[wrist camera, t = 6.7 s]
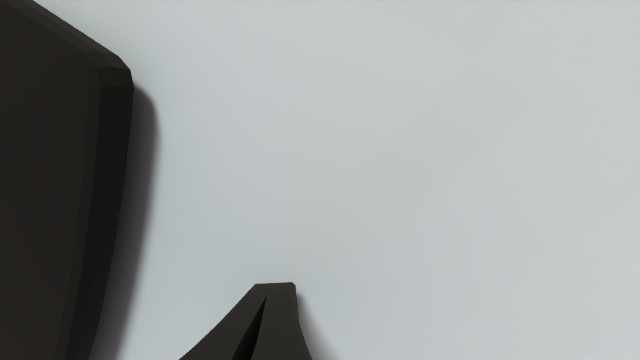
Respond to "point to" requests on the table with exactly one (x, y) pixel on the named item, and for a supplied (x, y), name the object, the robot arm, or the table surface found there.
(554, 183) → the table surface
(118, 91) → the light switch
